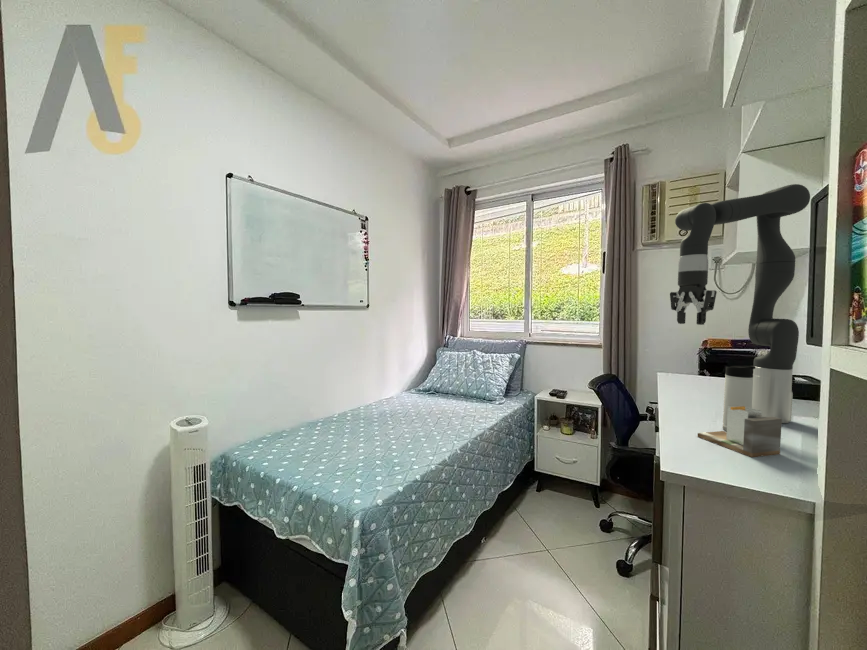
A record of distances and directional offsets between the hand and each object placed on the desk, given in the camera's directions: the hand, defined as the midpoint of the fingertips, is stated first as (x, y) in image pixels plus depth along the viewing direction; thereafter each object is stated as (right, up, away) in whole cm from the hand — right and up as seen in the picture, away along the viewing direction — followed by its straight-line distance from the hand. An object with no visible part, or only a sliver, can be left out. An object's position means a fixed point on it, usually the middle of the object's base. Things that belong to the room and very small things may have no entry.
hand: (690, 323), depth 110 cm
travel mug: (+9, -32, -7) cm, 34 cm away
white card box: (-1, -31, -19) cm, 36 cm away
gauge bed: (0, -32, -17) cm, 37 cm away
